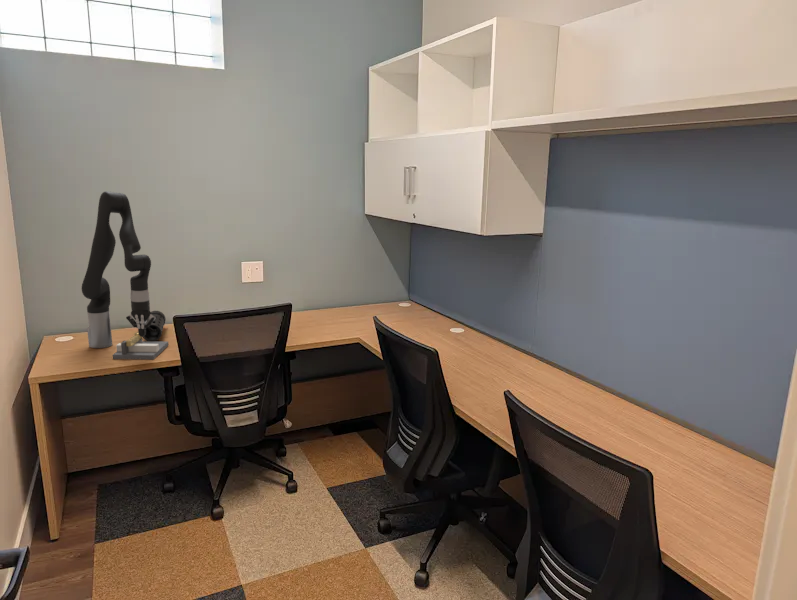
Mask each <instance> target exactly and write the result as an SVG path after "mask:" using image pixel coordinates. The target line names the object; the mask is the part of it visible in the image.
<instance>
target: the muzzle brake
mask: <svg viewBox="0 0 797 600" xmlns="http://www.w3.org/2000/svg"><path fill="white" fill-rule="evenodd" d="M150 312H151V315H153V316H156V319H155V320H154V321H153V322H152V324H151V325H150V326H149V327H148V328H146V335H145V336H144V337H142V339H144V340H145V341H158V340H160V339H161V337H162V334H163V330H164V327H165V323H166V316H165V314H164V313H163V312H162V311H160V310H153V311H150ZM149 318H150V317H149ZM149 318H148V319H147V322H146V324H147V323H148V322H149V321H150V319H149Z"/></svg>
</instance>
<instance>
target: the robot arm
mask: <svg viewBox="0 0 797 600" xmlns="http://www.w3.org/2000/svg"><path fill="white" fill-rule="evenodd" d="M111 213H112V214H113V213H114V214H119V215H120V217H121V220H122V221H121V226H120V229H119V233H118V235H119V236H118V237H119V240H120V244H121V247H122V249H123V255H124V267H125V269H126V270H127V271H129V272H131V273H133V272H134V273H135V272H138V274H136V275H133V276H131V277H130V307H131V312H130V314H129V315H127V316H126V320H127V321H128V322H129V324H130V325H131V326H132V327H133V328H136V329H137V332H138V334H139V335H140V337H142V338H143V337H144V336H145V335H146V328H148V327H149V326H150V325H151V324H152V322H153V321H154V320H155V319H156V316H153V315H151V312H152V311H151V306H150V292H149V283H148V280H149V275H150V271H151V266H152V260H151V258H150V256H149V255H148V254H135V253H138V252H140V251H141V249H142V247H141V244H140V241H139V239H138V236H137V233H136V230H135V226H134V221H133V219H134V218H133V216H132V215H133V214H132V209H131V205H130V200H129V198H128V196H127V195H126V194H125V193H122V192H115V191H103V192H102V193H101V194H100V197H99V201H98V209H97V217H96V218H97V219H96V224H95V230H94V235H93V239H92V243H91V248H90V255H89V260H88V262H87V263H88V264H87V269H86V270H85V271H86V272H85V275H84V278H83V281H82V284H81V293H82V295H83V296H84V297H85V298H86V299H88V300H90V302H89V303H88V304H87V306H86V310H87V320H88V327H87V328H86V330H87V340H88V347H89V348H93V349H105V348H109V347H111V346H112V345H113V335H112V326H111V325H112V323H111V317H110V316H111V313H110V305H111V287H110V284H109V282H108V280H107V279H106V278H104V277H103V275H104V272H105V271H106V268H107V267H108V265H109V263H110V261H111V260H112V258H113V255H114V252H115V248H116V243H117V242H116V237H115V234H114V232H113V230H112V227H111V225H110V217H111ZM133 254H134V255H133ZM149 317H150V318H149ZM148 318H149V319H150V321H149V322H148V323H147V324H146V322H147V319H148Z"/></svg>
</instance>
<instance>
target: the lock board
mask: <svg viewBox="0 0 797 600" xmlns="http://www.w3.org/2000/svg"><path fill="white" fill-rule="evenodd" d="M126 341H127V340H123V341H122V342H121V343H120V342H118V343H117V344H116V345H115V348H116V352H115V353H113V354H112V359H113V360H155V359H156V358H157V357H158V356H159V355H160V354H161V353H162V352H164V350H165V349H166V348H168V345H169V341H158V340H157V341H146V340H145V341H144V340H143V338H142V339H141V340H139V341H137V342H136V343H135V344H134V345H132V346H127V345H126ZM169 346H170V345H169Z"/></svg>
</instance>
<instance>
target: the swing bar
mask: <svg viewBox="0 0 797 600" xmlns="http://www.w3.org/2000/svg"><path fill="white" fill-rule="evenodd" d="M141 339H142V340H143V337H140V335H139V334H138V331H137V332H134V334H133V335H132V337H130V338H129V339H127V340H125V341H126V345H127V346H132V345H134V344H135V343H136V342H137V341H139V340H141Z"/></svg>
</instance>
